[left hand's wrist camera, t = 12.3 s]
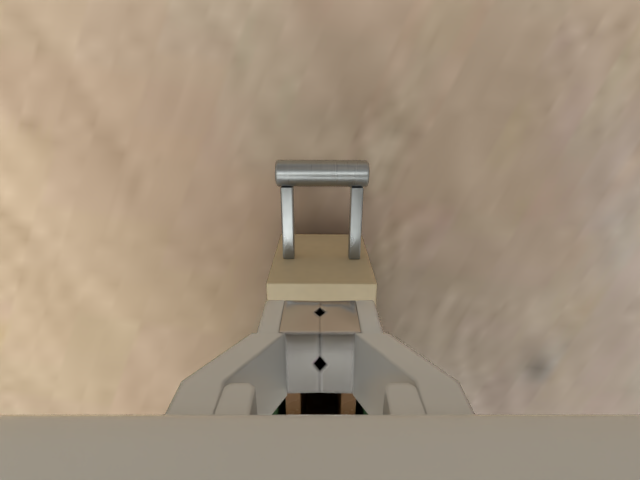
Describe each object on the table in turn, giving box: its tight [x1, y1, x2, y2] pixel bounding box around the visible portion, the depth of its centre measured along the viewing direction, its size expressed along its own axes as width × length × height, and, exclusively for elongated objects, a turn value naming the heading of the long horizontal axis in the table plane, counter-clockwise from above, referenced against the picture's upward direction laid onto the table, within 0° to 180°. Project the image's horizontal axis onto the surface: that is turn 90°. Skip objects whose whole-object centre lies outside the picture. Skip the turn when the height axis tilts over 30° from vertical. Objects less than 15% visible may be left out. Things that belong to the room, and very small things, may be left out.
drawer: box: [266, 160, 377, 415], centre depth 21 cm, size 22×5×6 cm, turn 0°
